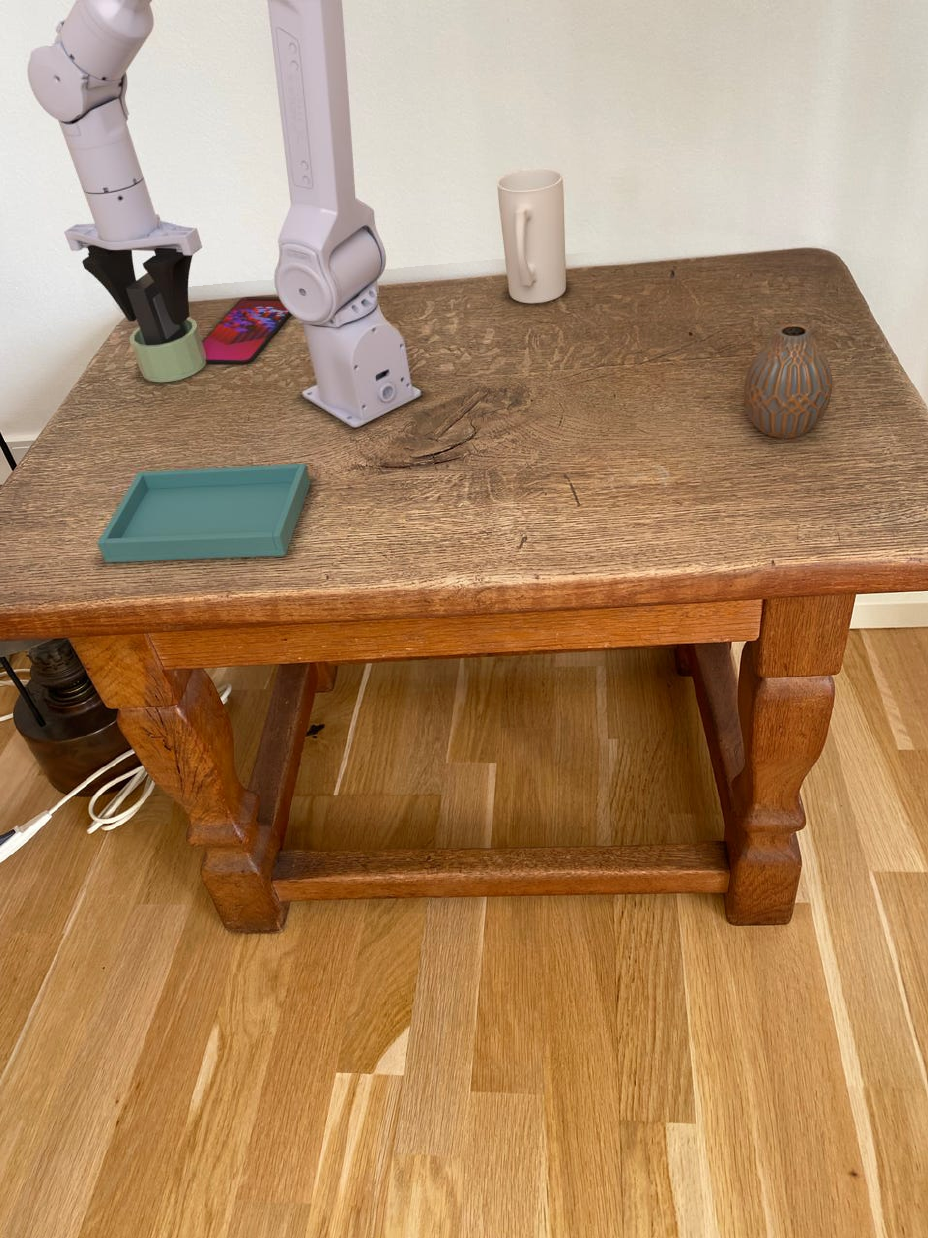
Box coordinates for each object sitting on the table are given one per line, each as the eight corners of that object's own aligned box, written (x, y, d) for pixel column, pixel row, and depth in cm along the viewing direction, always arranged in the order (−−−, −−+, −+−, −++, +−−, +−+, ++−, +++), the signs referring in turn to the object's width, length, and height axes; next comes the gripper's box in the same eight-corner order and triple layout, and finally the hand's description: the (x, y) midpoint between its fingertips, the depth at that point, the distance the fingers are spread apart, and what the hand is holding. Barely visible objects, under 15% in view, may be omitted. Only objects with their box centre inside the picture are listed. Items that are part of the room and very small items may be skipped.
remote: (193, 353, 108) (167, 272, 102) (173, 371, 105) (145, 289, 100) (175, 352, 109) (148, 271, 103) (154, 370, 106) (125, 288, 100)
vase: (735, 408, 88) (741, 314, 83) (816, 401, 88) (828, 306, 82) (749, 451, 83) (757, 354, 77) (835, 444, 83) (849, 346, 77)
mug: (514, 278, 114) (505, 168, 106) (573, 278, 112) (568, 166, 104) (493, 318, 107) (481, 204, 99) (556, 319, 105) (549, 202, 97)
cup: (219, 363, 107) (208, 328, 104) (159, 389, 104) (147, 353, 101) (189, 344, 111) (178, 310, 109) (131, 368, 108) (118, 334, 106)
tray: (311, 482, 87) (306, 462, 86) (285, 555, 80) (279, 535, 79) (145, 490, 90) (138, 471, 88) (105, 562, 82) (96, 543, 81)
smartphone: (184, 359, 108) (241, 296, 118) (187, 367, 108) (243, 303, 119) (250, 361, 106) (302, 296, 116) (252, 369, 106) (304, 303, 117)
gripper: (200, 168, 95) (238, 304, 104) (78, 167, 100) (124, 297, 109) (158, 196, 91) (202, 336, 99) (32, 193, 95) (84, 327, 104)
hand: (159, 318), depth 104 cm, fingers open, 5 cm apart
